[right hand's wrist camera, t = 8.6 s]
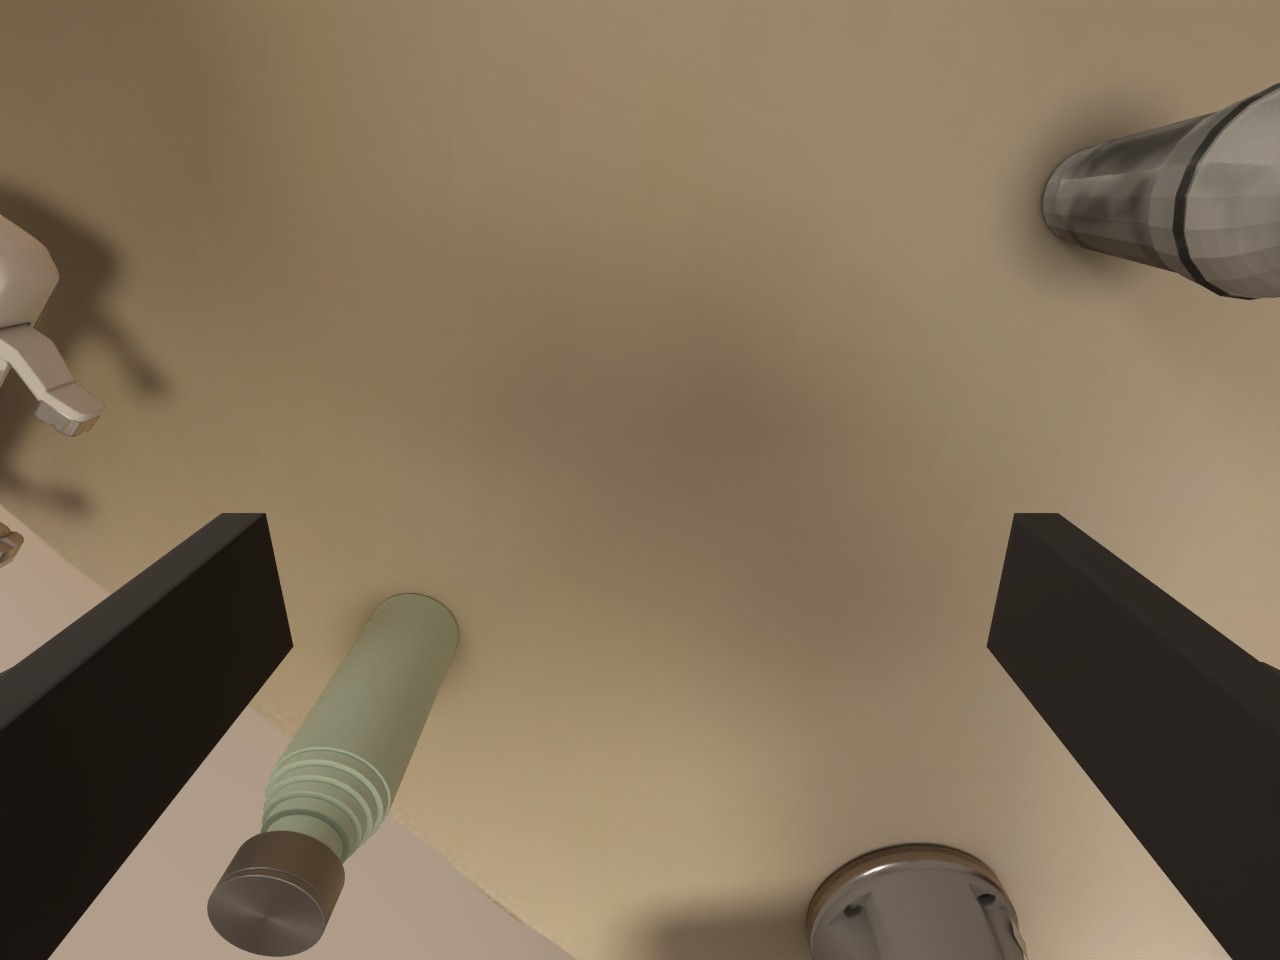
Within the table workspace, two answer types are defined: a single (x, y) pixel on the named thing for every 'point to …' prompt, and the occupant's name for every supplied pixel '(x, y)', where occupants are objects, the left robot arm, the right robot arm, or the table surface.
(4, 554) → the left robot arm
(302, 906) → the cap
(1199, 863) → the right robot arm
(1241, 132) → the beverage cup
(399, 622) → the bottle
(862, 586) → the table surface
